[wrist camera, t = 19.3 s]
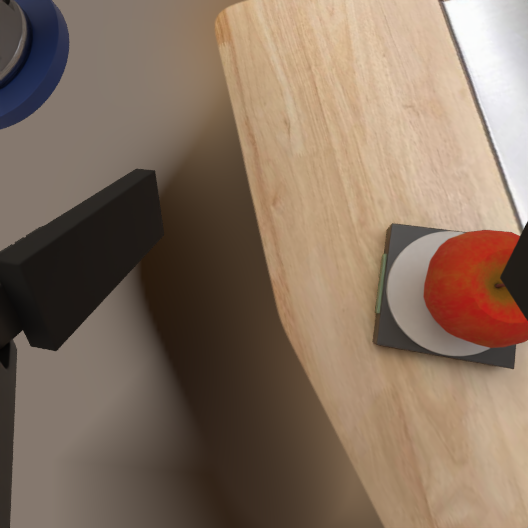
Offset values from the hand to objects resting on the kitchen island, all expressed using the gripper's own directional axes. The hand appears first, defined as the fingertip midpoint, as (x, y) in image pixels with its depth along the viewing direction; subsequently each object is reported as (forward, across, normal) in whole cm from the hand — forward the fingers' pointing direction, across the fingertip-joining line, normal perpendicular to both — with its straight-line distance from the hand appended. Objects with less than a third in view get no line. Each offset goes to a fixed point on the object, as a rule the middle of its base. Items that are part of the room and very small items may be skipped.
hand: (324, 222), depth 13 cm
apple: (+17, +13, -14) cm, 25 cm away
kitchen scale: (+19, +13, -16) cm, 28 cm away
